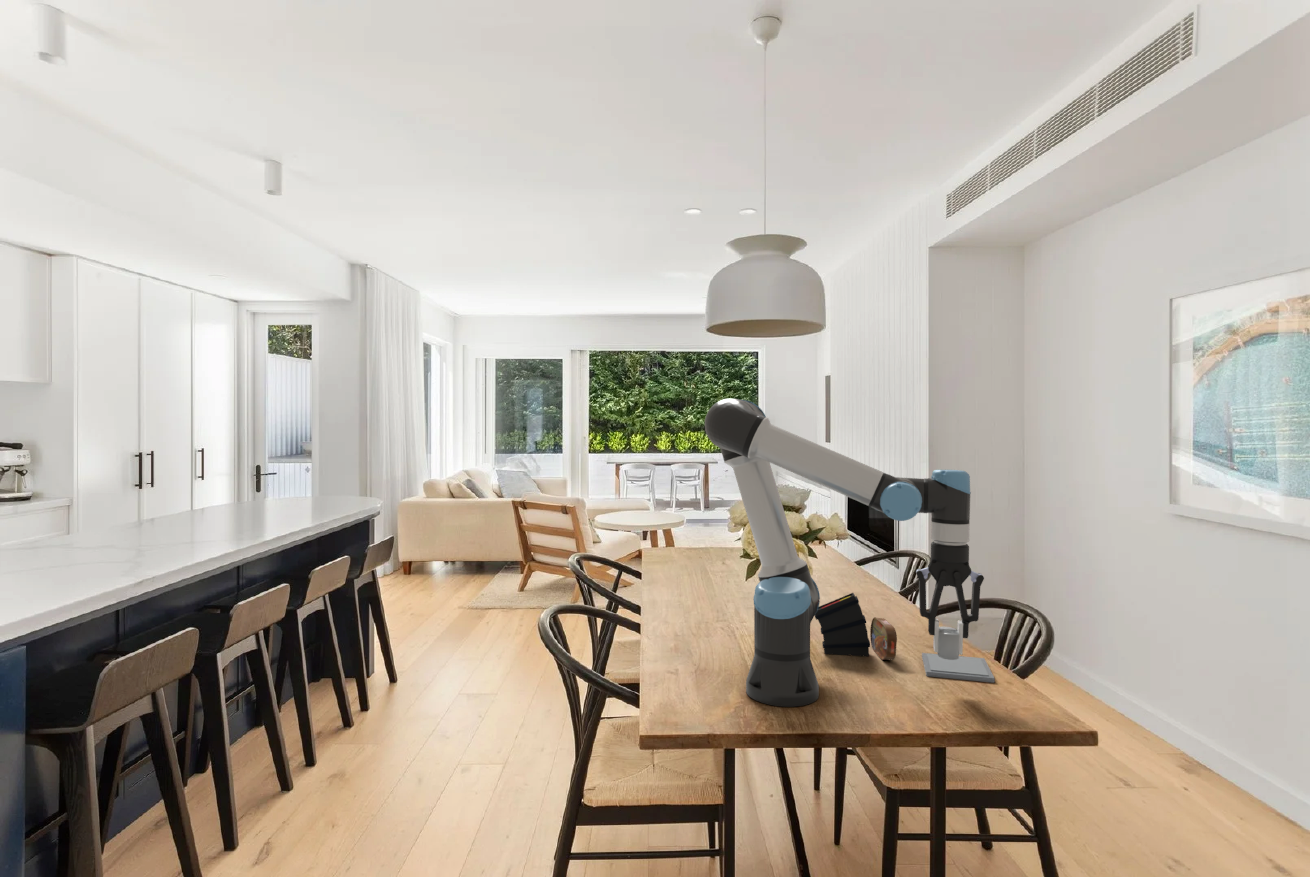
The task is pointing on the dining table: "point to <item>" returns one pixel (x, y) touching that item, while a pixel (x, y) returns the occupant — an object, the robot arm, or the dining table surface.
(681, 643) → the dining table surface
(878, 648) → the tin
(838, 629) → the magazine
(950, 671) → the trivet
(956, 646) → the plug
